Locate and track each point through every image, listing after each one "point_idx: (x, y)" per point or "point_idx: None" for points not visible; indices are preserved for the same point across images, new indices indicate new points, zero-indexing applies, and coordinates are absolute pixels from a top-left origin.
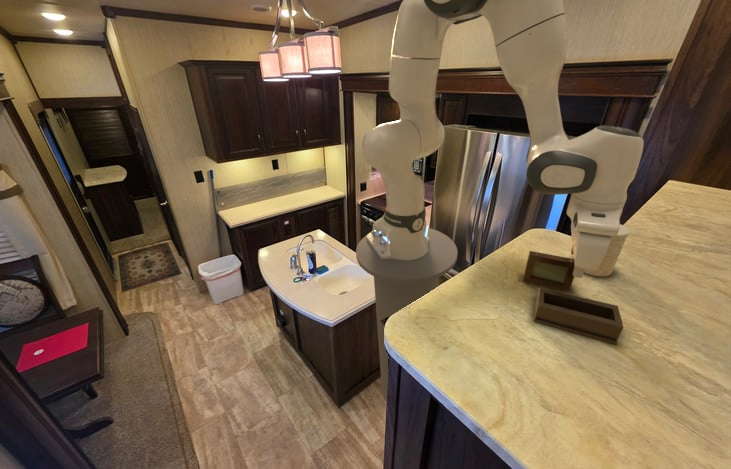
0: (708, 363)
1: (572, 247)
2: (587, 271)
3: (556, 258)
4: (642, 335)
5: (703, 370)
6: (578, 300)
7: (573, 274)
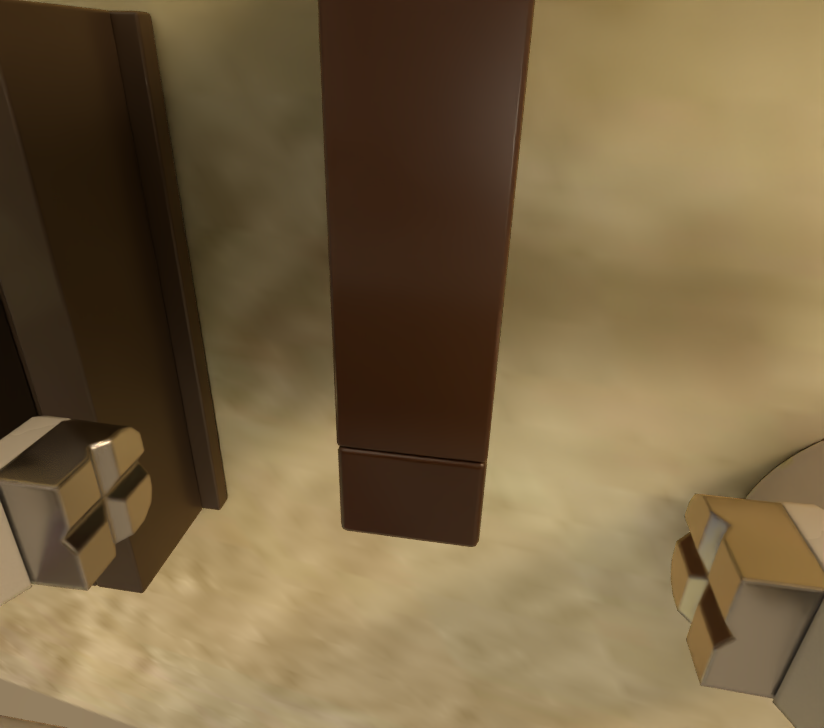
0: (145, 707)
1: (787, 584)
2: (767, 499)
3: (389, 242)
4: (174, 585)
5: (96, 683)
6: (32, 374)
7: (28, 426)
